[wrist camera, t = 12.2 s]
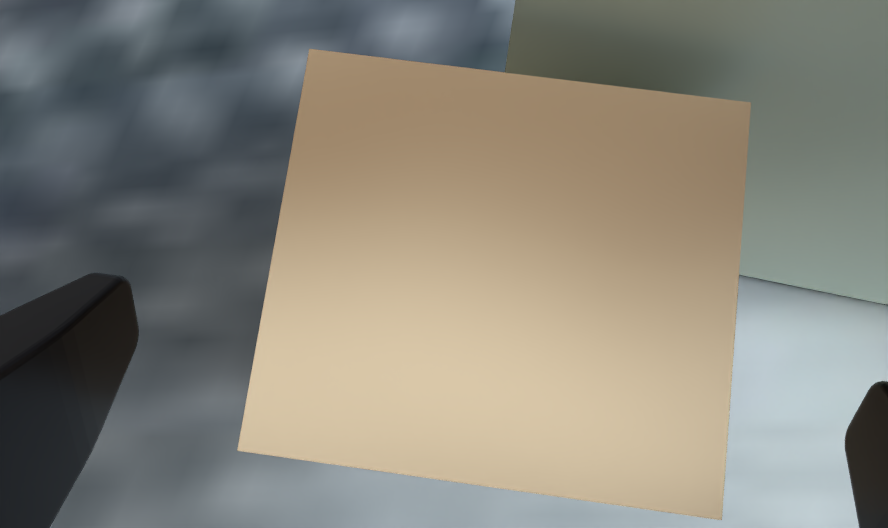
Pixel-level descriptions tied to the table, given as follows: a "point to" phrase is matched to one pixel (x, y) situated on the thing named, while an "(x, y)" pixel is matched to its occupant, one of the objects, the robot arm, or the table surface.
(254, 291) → the table surface
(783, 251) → the door
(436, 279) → the block
